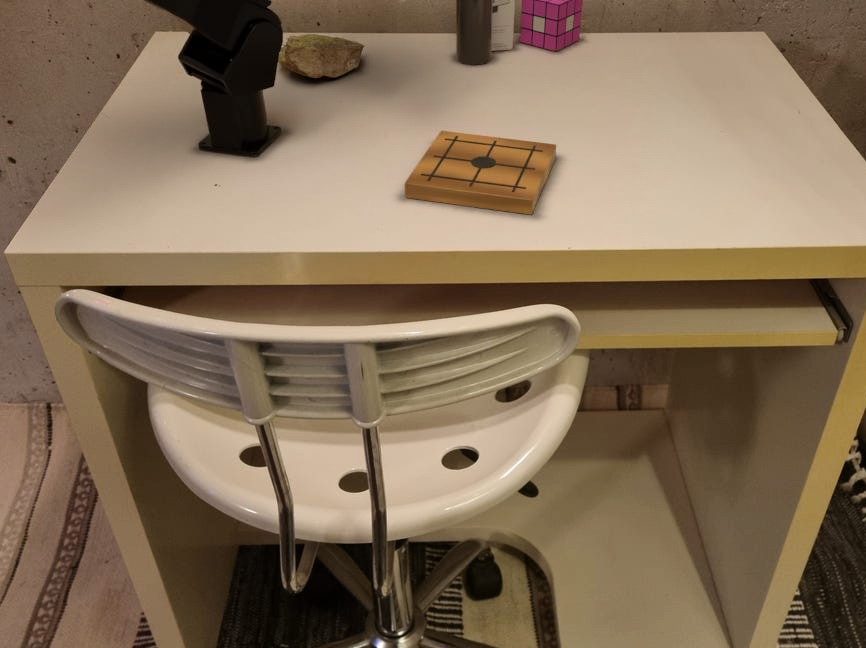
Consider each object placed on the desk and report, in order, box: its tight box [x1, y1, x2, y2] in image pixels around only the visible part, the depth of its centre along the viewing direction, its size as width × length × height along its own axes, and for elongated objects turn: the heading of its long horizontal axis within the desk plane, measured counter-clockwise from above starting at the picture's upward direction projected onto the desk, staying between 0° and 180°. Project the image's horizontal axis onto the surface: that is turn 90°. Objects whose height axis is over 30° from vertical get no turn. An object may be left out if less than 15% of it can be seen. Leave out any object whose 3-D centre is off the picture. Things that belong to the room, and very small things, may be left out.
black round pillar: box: [455, 0, 493, 66], centre depth 102 cm, size 4×4×12 cm
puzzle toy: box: [519, 0, 584, 53], centre depth 109 cm, size 6×6×6 cm
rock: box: [278, 33, 365, 79], centre depth 102 cm, size 13×10×4 cm
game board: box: [404, 130, 557, 215], centre depth 81 cm, size 12×12×2 cm
